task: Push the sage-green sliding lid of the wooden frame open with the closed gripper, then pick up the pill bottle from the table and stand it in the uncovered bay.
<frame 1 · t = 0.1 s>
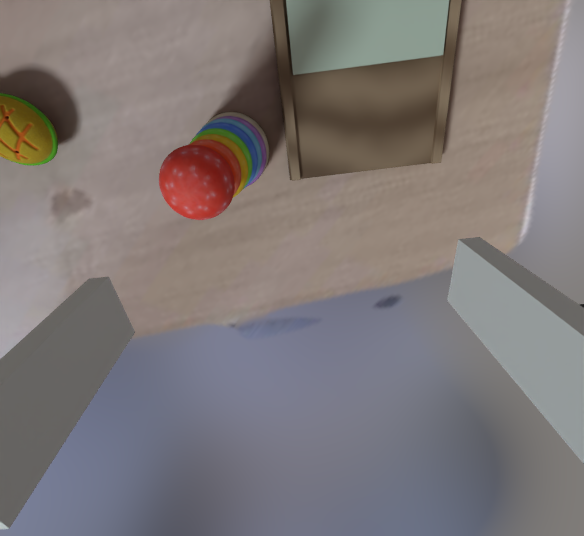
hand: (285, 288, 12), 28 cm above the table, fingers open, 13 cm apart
stacking toy: (235, 149, 35), on the table
wooden frame: (362, 61, 31), on the table
lid: (371, 2, 26), point 3 cm above the table, slide at 0.0 cm
toy pineapple: (25, 127, 34), on the table
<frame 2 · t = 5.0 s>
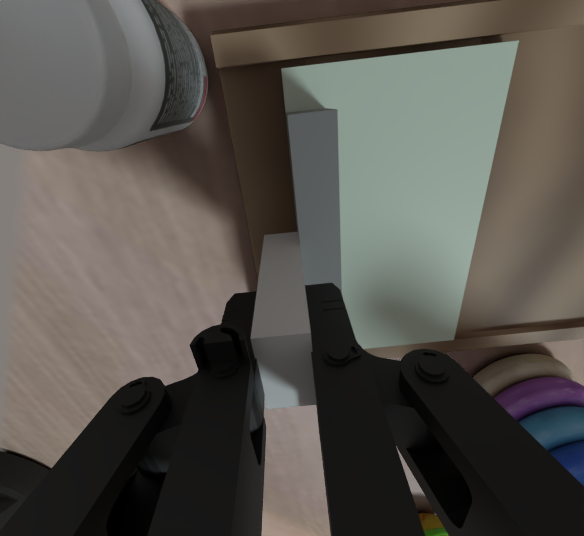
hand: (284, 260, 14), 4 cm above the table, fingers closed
stacking toy: (505, 382, 24), on the table
wooden frame: (448, 214, 17), on the table
pill bottle: (156, 74, 13), on the table
lid: (396, 246, 14), point 3 cm above the table, slide at 0.0 cm, touching gripper
toy pineapple: (414, 518, 35), on the table
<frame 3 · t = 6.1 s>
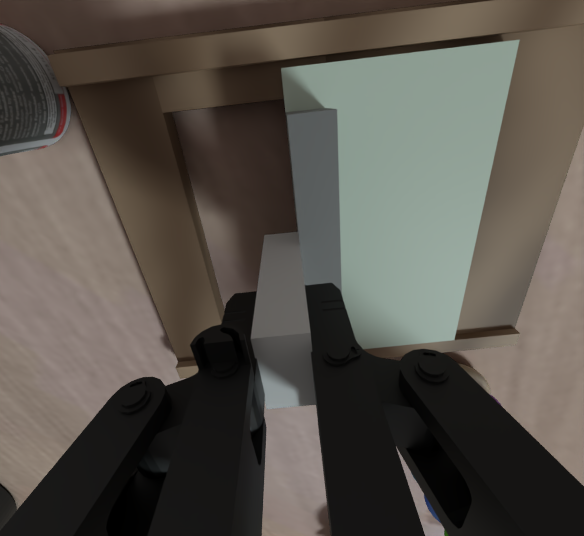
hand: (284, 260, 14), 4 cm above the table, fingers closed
stacking toy: (429, 390, 24), on the table
wooden frame: (338, 226, 17), on the table
pill bottle: (20, 91, 13), on the table
lid: (396, 246, 14), point 3 cm above the table, slide at 6.2 cm, touching gripper
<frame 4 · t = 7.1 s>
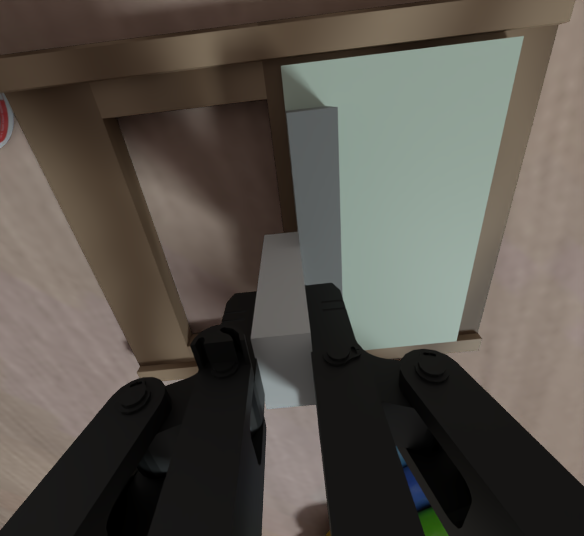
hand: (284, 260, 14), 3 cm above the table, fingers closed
stacking toy: (399, 394, 24), on the table
wooden frame: (293, 231, 17), on the table
lid: (398, 246, 14), point 3 cm above the table, slide at 8.7 cm, touching gripper
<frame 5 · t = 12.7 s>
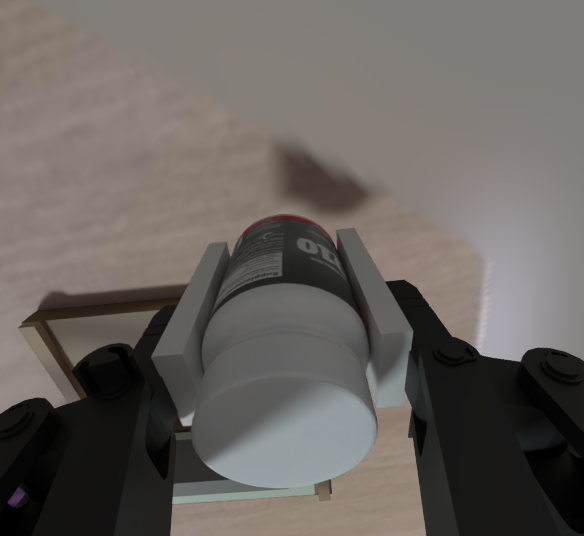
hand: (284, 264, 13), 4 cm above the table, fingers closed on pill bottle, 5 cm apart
wooden frame: (212, 412, 24), on the table
pill bottle: (284, 258, 14), point 3 cm above the table, touching gripper
lid: (216, 488, 23), point 3 cm above the table, slide at 8.7 cm
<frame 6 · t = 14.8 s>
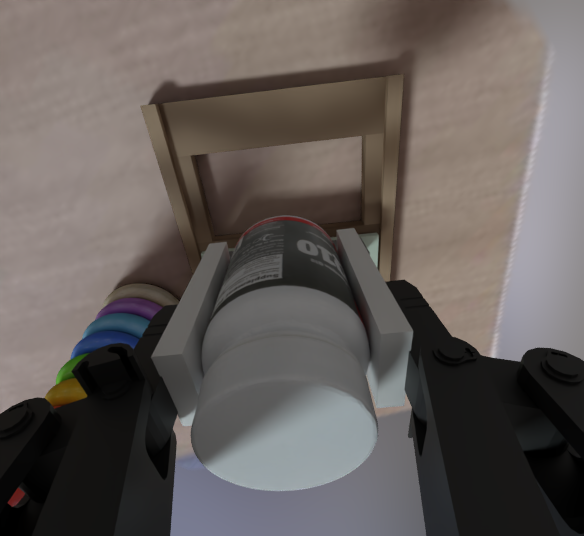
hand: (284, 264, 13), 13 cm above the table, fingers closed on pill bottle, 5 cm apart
stacking toy: (150, 311, 31), on the table
wooden frame: (288, 233, 27), on the table
pill bottle: (285, 259, 14), point 12 cm above the table, touching gripper
lid: (295, 297, 26), point 3 cm above the table, slide at 8.7 cm
when the fingers open (1 cm above the table, at t = 17.1 s): pill bottle stays where it is, resting in wooden frame.
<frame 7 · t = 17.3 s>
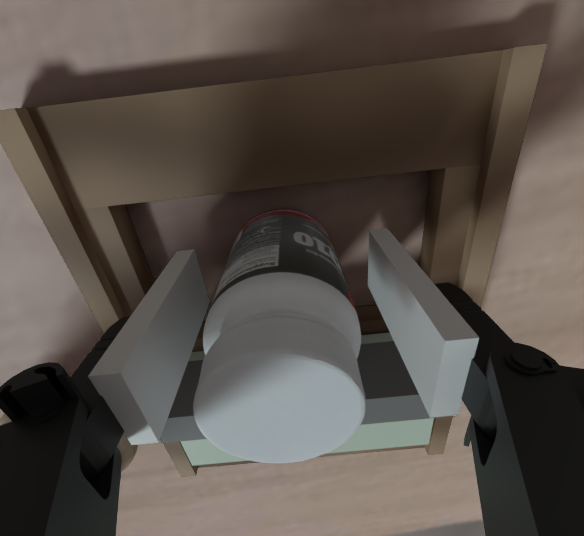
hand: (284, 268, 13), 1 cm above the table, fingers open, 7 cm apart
stacking toy: (82, 422, 20), on the table
wooden frame: (293, 320, 16), on the table
pill bottle: (283, 253, 14), resting in wooden frame
lid: (304, 430, 16), point 3 cm above the table, slide at 8.7 cm
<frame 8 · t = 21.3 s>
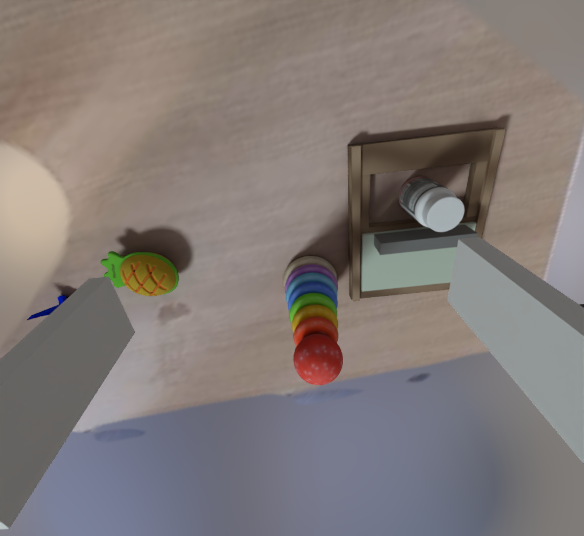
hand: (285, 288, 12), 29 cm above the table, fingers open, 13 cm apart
stacking toy: (309, 276, 45), on the table
wooden frame: (413, 222, 41), on the table
pill bottle: (415, 193, 39), resting in wooden frame
lid: (419, 263, 41), point 3 cm above the table, slide at 8.7 cm
figurine: (77, 310, 47), on the table
toy pineapple: (149, 263, 43), on the table
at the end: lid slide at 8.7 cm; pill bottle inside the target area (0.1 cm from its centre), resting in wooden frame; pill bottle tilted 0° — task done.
